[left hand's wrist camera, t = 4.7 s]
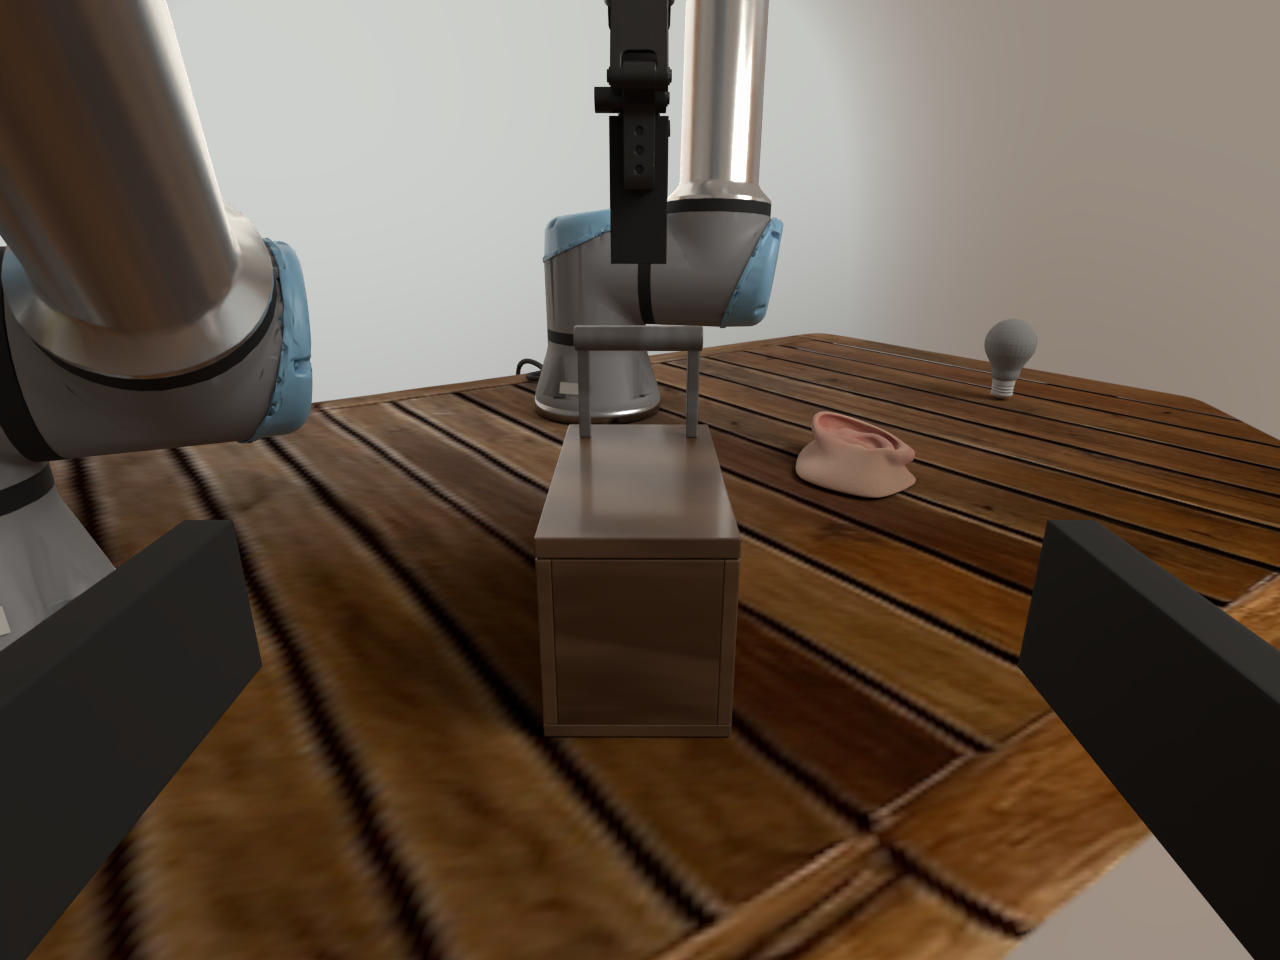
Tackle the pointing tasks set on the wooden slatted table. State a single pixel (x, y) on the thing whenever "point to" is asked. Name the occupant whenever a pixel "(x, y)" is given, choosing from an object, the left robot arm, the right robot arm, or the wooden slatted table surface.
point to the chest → (637, 645)
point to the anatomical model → (855, 458)
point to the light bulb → (1008, 353)
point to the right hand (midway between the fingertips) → (638, 253)
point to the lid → (638, 471)
